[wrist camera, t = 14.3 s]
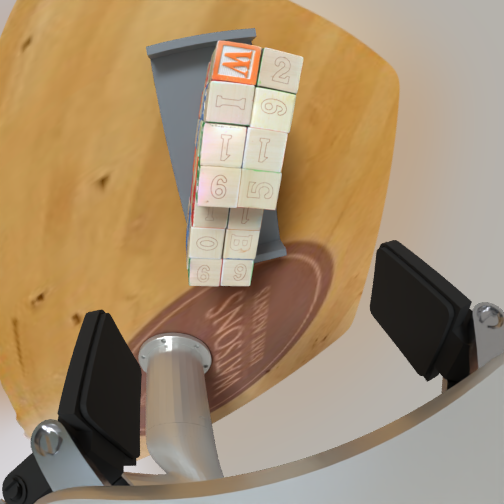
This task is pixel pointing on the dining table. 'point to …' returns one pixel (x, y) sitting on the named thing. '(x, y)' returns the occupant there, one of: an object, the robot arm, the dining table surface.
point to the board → (197, 114)
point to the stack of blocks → (238, 158)
